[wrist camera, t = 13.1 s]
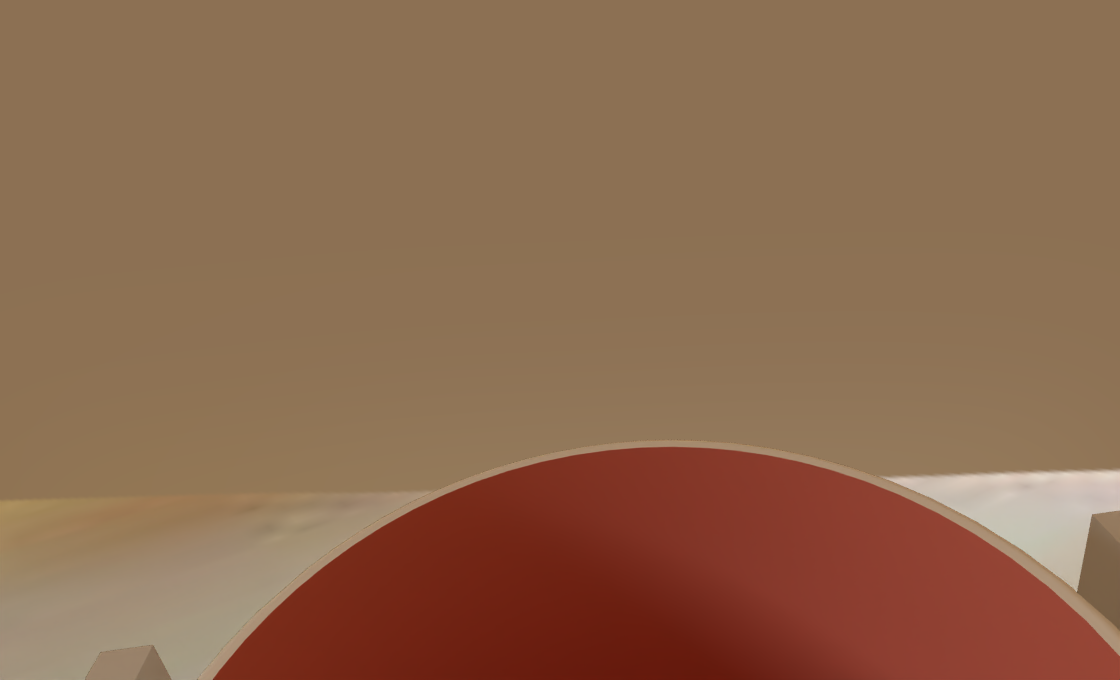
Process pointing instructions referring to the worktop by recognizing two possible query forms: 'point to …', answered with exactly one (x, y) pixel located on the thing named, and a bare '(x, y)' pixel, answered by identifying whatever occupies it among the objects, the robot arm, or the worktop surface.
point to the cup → (674, 582)
